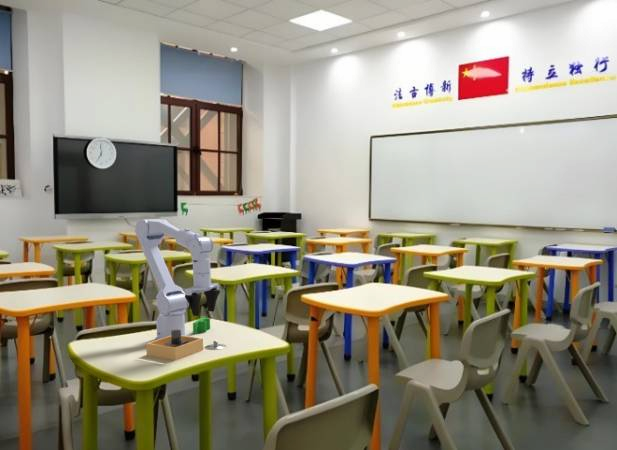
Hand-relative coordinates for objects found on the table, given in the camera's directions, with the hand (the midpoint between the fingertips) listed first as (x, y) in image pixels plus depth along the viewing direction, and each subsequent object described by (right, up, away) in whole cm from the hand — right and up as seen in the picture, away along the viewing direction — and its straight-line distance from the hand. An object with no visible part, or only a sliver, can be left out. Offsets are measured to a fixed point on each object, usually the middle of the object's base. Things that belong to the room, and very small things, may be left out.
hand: (203, 313), depth 169 cm
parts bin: (-7, -11, -10) cm, 16 cm away
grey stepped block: (-6, -10, -10) cm, 16 cm away
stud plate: (+5, -11, -4) cm, 12 cm away
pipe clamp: (-4, -10, +18) cm, 21 cm away
